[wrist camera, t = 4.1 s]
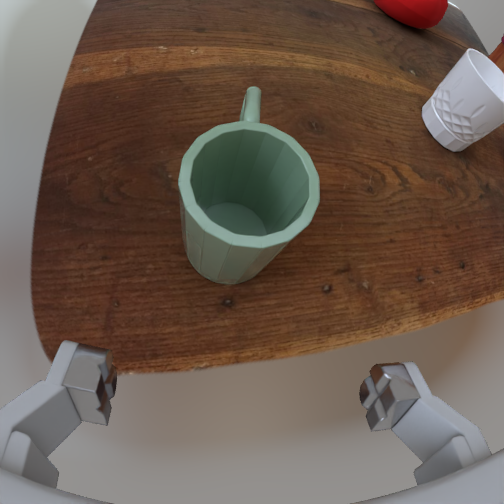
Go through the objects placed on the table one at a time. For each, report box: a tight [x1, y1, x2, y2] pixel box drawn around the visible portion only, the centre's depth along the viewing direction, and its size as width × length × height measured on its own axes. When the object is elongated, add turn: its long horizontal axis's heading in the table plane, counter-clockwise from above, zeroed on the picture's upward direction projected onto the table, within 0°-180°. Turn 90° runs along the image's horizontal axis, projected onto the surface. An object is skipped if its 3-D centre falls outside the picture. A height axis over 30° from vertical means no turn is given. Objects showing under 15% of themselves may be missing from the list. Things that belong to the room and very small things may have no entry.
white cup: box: [422, 49, 504, 152], centre depth 25 cm, size 8×8×10 cm
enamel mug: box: [178, 86, 320, 284], centre depth 18 cm, size 10×6×9 cm, turn 176°
